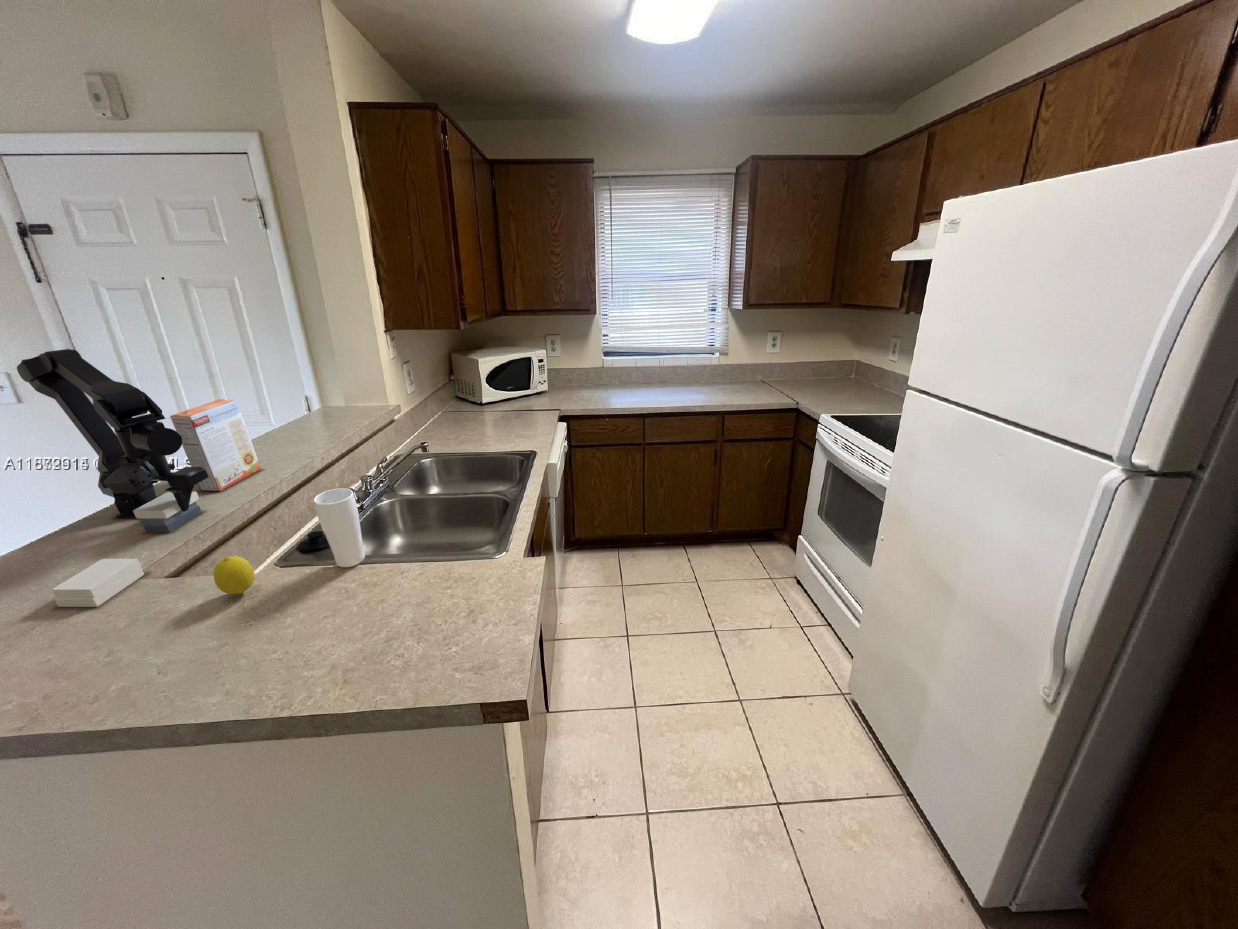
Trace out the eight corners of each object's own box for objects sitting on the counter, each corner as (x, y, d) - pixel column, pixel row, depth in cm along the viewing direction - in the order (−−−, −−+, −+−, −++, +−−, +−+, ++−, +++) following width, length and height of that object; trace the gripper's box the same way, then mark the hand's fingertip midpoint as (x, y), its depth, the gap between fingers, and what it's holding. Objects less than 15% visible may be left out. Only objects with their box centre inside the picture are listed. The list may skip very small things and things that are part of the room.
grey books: (180, 512, 113) (174, 499, 112) (202, 512, 113) (196, 499, 112) (145, 532, 105) (139, 518, 103) (169, 532, 105) (163, 518, 103)
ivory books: (109, 574, 91) (101, 558, 90) (145, 574, 91) (137, 558, 90) (58, 607, 83) (48, 590, 81) (97, 607, 83) (88, 590, 82)
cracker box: (243, 468, 136) (218, 398, 127) (262, 469, 135) (239, 399, 126) (198, 491, 123) (167, 414, 114) (220, 492, 122) (190, 415, 114)
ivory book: (171, 499, 112) (168, 491, 111) (199, 499, 112) (196, 491, 111) (136, 518, 103) (132, 510, 102) (166, 518, 103) (163, 510, 103)
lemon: (219, 607, 83) (203, 570, 80) (226, 589, 88) (211, 553, 84) (257, 597, 86) (243, 561, 82) (262, 580, 90) (248, 545, 87)
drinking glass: (344, 575, 92) (325, 508, 86) (325, 564, 95) (305, 498, 89) (376, 557, 97) (360, 493, 91) (357, 547, 100) (341, 484, 94)
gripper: (57, 462, 94) (93, 529, 100) (152, 463, 94) (182, 529, 100) (112, 442, 104) (140, 504, 110) (197, 442, 104) (221, 504, 111)
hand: (170, 510), depth 108 cm, fingers closed on ivory book, 7 cm apart
